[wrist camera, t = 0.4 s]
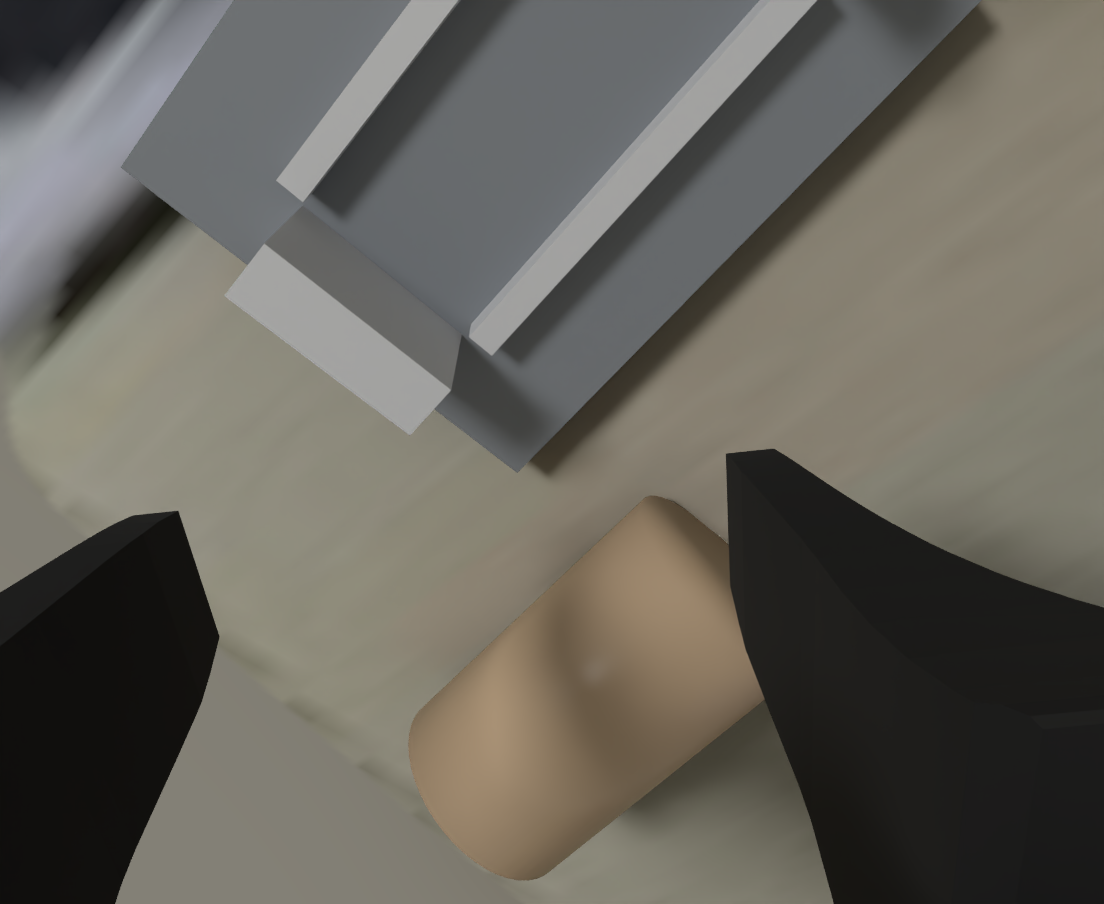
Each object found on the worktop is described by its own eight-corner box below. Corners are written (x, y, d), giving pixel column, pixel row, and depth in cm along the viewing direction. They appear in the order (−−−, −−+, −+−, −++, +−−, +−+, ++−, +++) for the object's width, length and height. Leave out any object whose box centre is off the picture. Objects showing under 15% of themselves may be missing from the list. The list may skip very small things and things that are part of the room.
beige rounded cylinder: (781, 591, 24) (822, 717, 19) (568, 771, 26) (557, 921, 22) (638, 465, 23) (643, 566, 18) (430, 665, 25) (388, 799, 21)
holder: (967, -10, 18) (1077, -7, 14) (517, 452, 22) (515, 544, 18) (578, -484, 15) (595, -634, 11) (139, 158, 19) (49, 199, 15)
